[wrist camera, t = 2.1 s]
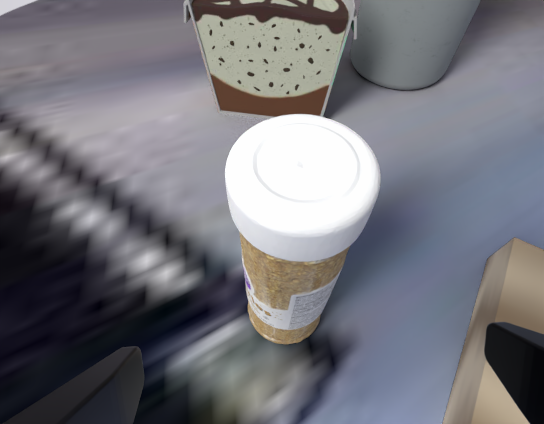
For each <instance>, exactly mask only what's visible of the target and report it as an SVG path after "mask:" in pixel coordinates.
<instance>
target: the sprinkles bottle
mask: <svg viewBox="0 0 544 424" xmlns="http://www.w3.org/2000/svg"><path fill="white" fill-rule="evenodd" d="M225 180H226V189H227V196H228V202H229V207H230V212H231V215H232V218H233V221H234V223H235V225H236V226H237V228H238V230H239V231H240V239H241V247H242V262H243V268H244V275H245V282H246V291H247V297H248V312H249V317H250V320H251V322H252V324H253V326H254V327H255V329H256V330H257V331H258V332H259V333H260V334H261V335H262V336H263V337H264V338H266V339H267V340H270V341H272V342H274V343H279V344H293V343H298V342H300V341H302V340H303V339H305V338H307V337H308V336H309V335H311V334H312V333H313V332H314V330H315V329H316V327H317V325H318V323H319V321H320V316H321V313H322V311H323V309H324V307H325V305H326V303H327V301H328V299H329V297H330V295H331V292H332V290H333V288H334V285H335V283H336V281H337V279H338V276H339V274H340V272H341V270H342V267H343V265H344V262H345V257H346V255H347V252H348V250H349V247H350V246H351V244H352V243H353V242H355V241H356V239H357V238H358V237H359V235H360V234H361V232H362V231H363V229H364V227H365V225H366V223H367V221H368V219H369V216H370V214H371V212H372V209H373V207H374V205H375V202H376V200H377V197H378V194H379V191H380V184H381V174H380V168H379V165H378V161H377V159H376V156H375V154H374V152H373V151H372V149H371V148H370V146H369V145H368V144H367V143H366V142H365V140H364V139H363V138H361V137H360V136H359V135H358V134H357V133H356V132H354V131H353V130H352V129H350V128H349V127H347V126H345V125H343V124H341V123H339V122H337V121H334V120H331V119H328V118H325V117H321V116H316V115H309V114H290V115H282V116H278V117H274V118H271V119H268V120H265V121H263V122H261V123H259V124H257V125H255V126H253V127H252V128H250V129H249V130H247V131H246V132H245V133H244V134H243V135H242V136H241V137H240V138H239V139H238V140H237V141H236V143H235V144H234V146H233V147H232V149H231V151H230V153H229V156H228V158H227V162H226V167H225Z"/></svg>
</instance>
